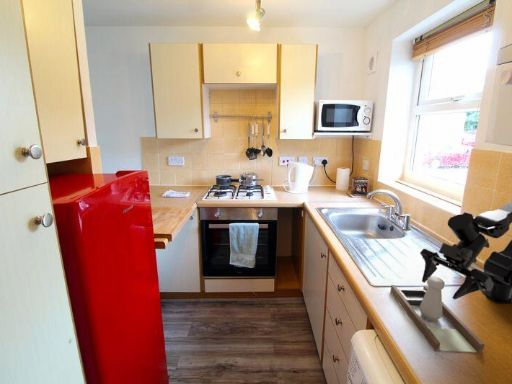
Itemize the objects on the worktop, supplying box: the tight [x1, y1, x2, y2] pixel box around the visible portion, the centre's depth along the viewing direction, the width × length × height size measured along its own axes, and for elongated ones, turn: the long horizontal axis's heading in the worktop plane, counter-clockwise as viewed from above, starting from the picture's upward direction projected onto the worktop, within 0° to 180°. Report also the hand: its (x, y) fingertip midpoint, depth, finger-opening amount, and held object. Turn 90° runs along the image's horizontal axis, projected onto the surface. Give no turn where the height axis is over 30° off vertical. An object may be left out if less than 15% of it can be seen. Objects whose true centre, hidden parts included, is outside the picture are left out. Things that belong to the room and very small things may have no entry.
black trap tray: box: [397, 288, 426, 307], centre depth 92 cm, size 9×6×2 cm, turn 88°
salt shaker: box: [419, 276, 446, 323], centre depth 82 cm, size 6×6×13 cm
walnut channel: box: [390, 284, 485, 354], centre depth 84 cm, size 12×26×2 cm, turn 178°
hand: (437, 289), depth 82 cm, fingers open, 9 cm apart
